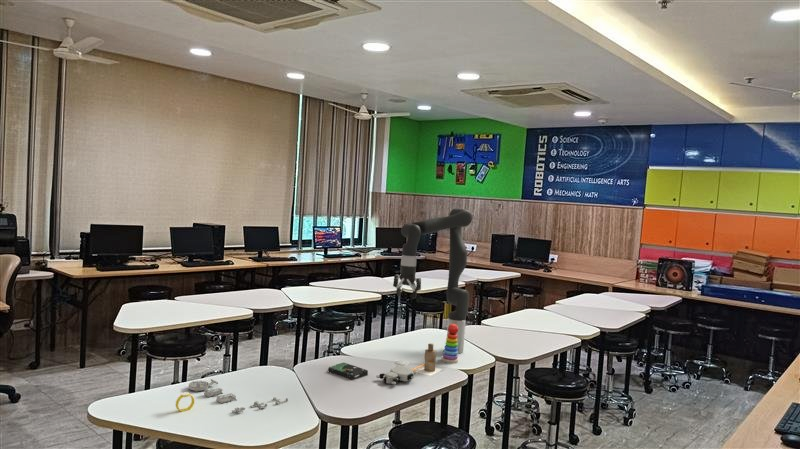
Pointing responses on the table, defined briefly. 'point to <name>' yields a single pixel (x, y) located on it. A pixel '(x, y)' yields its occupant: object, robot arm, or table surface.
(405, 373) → the robot toy
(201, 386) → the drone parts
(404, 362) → the lane mat
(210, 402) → the table surface
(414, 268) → the robot arm
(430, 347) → the walnut skittle
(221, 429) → the table surface
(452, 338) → the stacking toy
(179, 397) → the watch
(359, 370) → the disk drive
